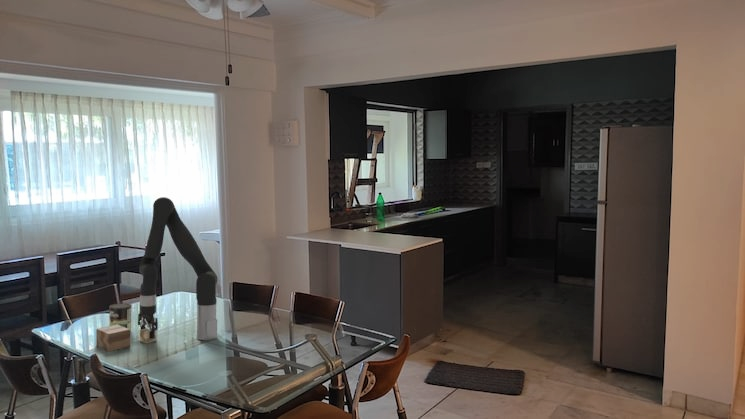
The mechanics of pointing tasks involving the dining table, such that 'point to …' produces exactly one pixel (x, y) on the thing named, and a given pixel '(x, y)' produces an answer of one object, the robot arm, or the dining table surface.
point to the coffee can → (120, 315)
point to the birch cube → (146, 335)
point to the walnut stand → (113, 337)
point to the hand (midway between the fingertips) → (147, 336)
